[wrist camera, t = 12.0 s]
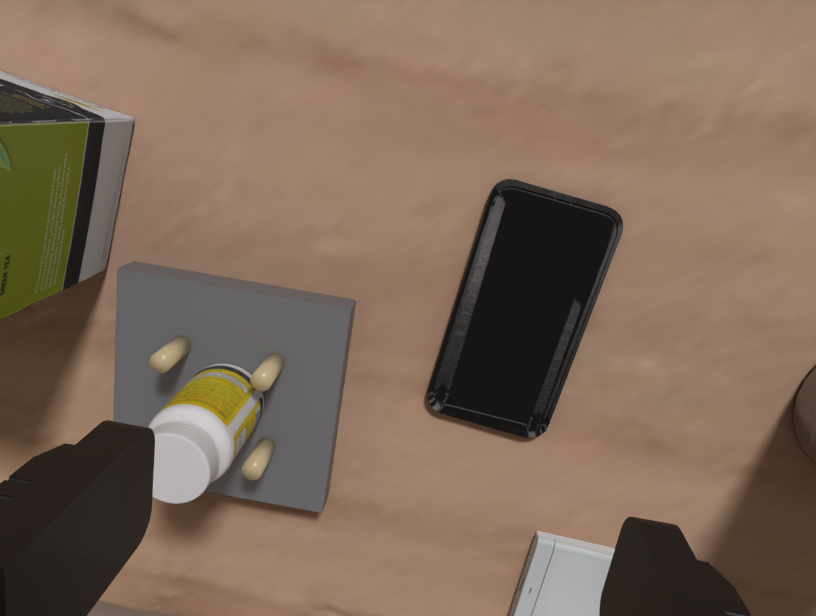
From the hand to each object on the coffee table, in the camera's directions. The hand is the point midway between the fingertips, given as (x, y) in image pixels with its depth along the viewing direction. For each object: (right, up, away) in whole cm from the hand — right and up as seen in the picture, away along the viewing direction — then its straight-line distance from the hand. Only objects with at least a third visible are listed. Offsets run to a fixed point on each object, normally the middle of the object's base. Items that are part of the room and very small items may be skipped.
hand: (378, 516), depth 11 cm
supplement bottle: (-11, -2, +29) cm, 31 cm away
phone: (+7, +3, +28) cm, 30 cm away
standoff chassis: (-11, -1, +31) cm, 32 cm away
